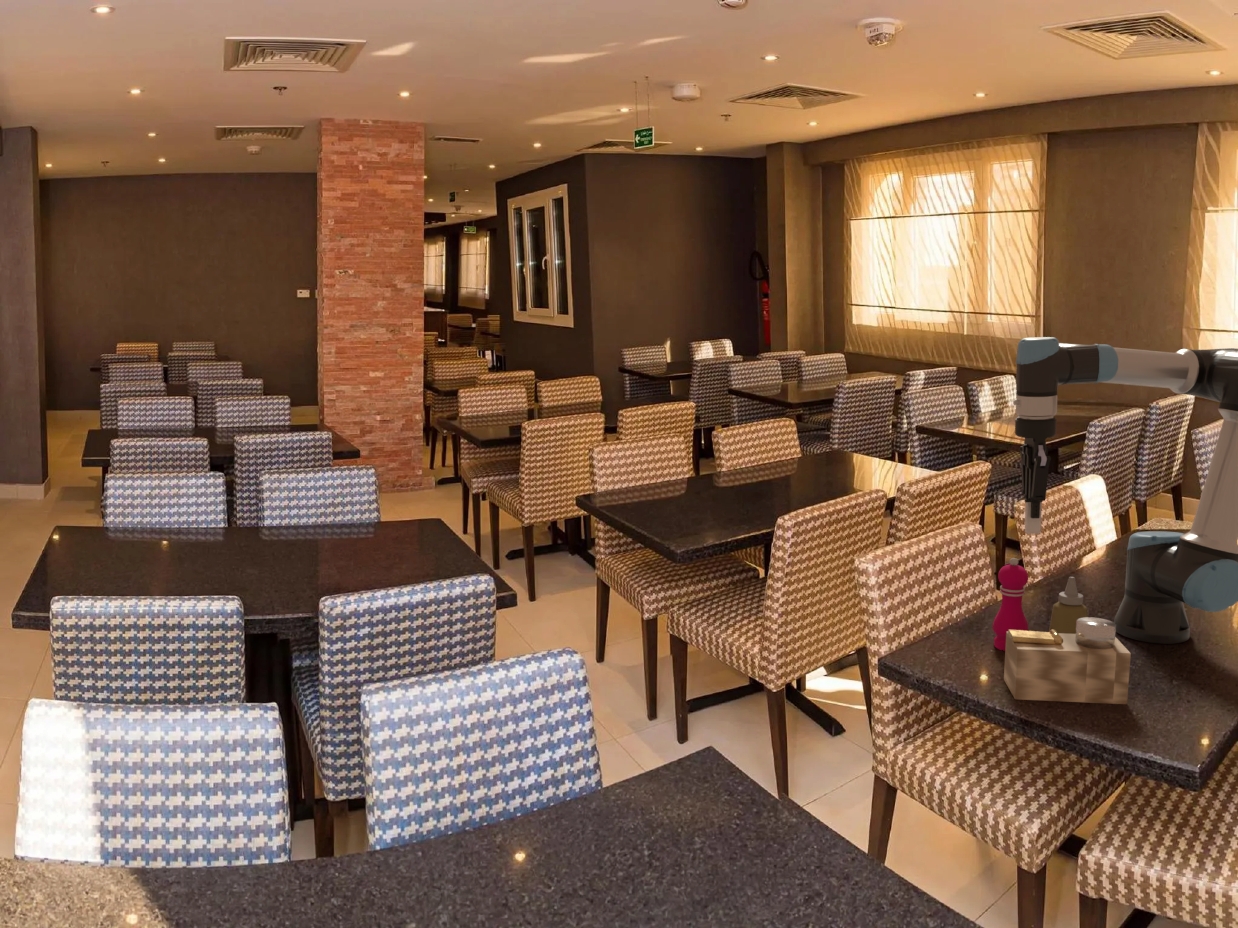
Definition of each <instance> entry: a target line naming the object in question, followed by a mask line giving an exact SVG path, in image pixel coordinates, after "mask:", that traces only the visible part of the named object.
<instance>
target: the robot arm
mask: <svg viewBox="0 0 1238 928" xmlns="http://www.w3.org/2000/svg"><path fill="white" fill-rule="evenodd" d="M1016 351H1017V352H1016V358H1015V364H1016V373H1015V375H1016V379H1015V381H1016V384H1015V385H1016V387H1015V390H1016V392H1015V397H1016V399H1014V400H1013V401H1012V404H1013V405H1014V406H1015V415H1017V417H1016V418H1015V420H1014V422H1015V423H1014V424H1015V425H1014V434H1015V436H1017V438H1018V437H1019V438H1024V440H1023V441H1024V442H1023V444H1022V445H1021V446H1020V447H1019V452H1020V464H1021V465H1020V466H1021V467H1020V468H1021V486H1022V487H1021V490H1022V491H1021V494H1022V495H1023V496H1024V503H1025V505H1024V506H1025V508H1024V509H1025V511H1024V533H1025V534H1027V535H1028V534H1029V535H1031V534H1033V535H1034V534H1035V535H1036V534H1041V533H1042V531H1041V530H1042V505H1043V504H1042V503H1043V502H1045V501H1046V499H1047V497H1046V496H1047V490H1048V489H1047V487H1048V479H1049V469H1050V465H1051V460H1052V458H1051V455H1049V447H1048V446H1047V443H1046V442H1047V441H1046V440H1047V439H1049V438H1053V437H1055V436H1056V435H1057V419H1056V417H1054V416H1056V415H1057V414H1058V387H1059V386H1062V385H1063V386H1064V385H1076V384H1078V385H1079V384H1095V385H1096V384H1098V383H1104V384H1116V385H1119V384H1120V385H1128V386H1141V387H1151V388H1152V387H1153V388H1164V389H1169V390H1170V391H1171V392H1173V393H1175V394H1179V395H1189V396H1193V397H1198V398H1203V399H1205V400H1210V401H1214V402H1216V403H1217V402H1218V403H1219V406H1218V408H1217V411H1218V412H1219V414H1220V415H1221V417H1222V418H1223V419H1222V420H1223V421H1222V425H1221V428H1220V432H1219V435H1218V439H1217V441H1216V444H1215V449H1214V451H1213V455H1212V458H1211V462H1210V465H1209V468H1208V471H1207V475H1206V477H1205V482H1204V485H1203V488H1202V492H1201V494H1200V495H1201V496H1200V499H1199V501H1198V505H1197V509H1196V512H1195V515H1194V519H1193V522H1192V525H1191V527H1190V530H1189V531H1187V532H1185V533H1183V532H1177V531H1166V530H1164V531H1163V530H1162V531H1161V530H1160V531H1159V530H1156V531H1152V530H1150V531H1149V530H1148V531H1137V532H1135V533H1133V534H1131V535H1130V536H1129V539H1128V544H1127V549H1126V551H1127V552H1126V553H1127V555H1126V568H1125V569H1126V570H1125V584H1124V585H1125V586H1124V597H1123V599H1122V601H1121V604H1120V605H1119V607H1118V610H1117V612H1116V614H1115V616H1114V620H1113V622H1114V623H1115V624H1116V631H1115V633H1118V634H1119V635H1121V636H1123V637H1125V638H1128V639H1130V640H1135V641H1140V642H1145V643H1151V644H1163V645H1164V644H1167V645H1168V644H1169V645H1171V644H1181V643H1184V642H1186V641H1189V639H1190V635H1191V626H1190V624H1189V619H1188V615H1187V612H1186V608H1185V604H1186V605H1187V606H1189V607H1190V608H1193V609H1198V610H1201V611H1204V612H1209V613H1219V612H1222V611H1225V610H1227V609H1229V607H1232V606H1234V605H1236V604H1237V603H1238V348H1213V349H1210V348H1209V349H1192V348H1191V349H1188V348H1182V349H1179V350H1177V351H1175V352H1170V351H1169V352H1168V351H1159V350H1158V351H1156V350H1147V349H1136V348H1135V349H1134V348H1124V347H1122V348H1121V347H1113V345H1110V344H1106V343H1105V344H1104V343H1103V344H1102V343H1101V344H1100V343H1099V344H1098V343H1094V344H1080V343H1079V344H1078V343H1067V342H1066V343H1065V342H1060V340H1059V339H1058V338H1056V337H1053V336H1051V337H1050V336H1047V337H1046V336H1039V337H1037V336H1036V337H1035V336H1033V337H1023V338H1022V339H1020V340H1019V341H1018V343H1017V349H1016Z"/></svg>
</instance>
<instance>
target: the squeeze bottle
mask: <svg viewBox="0 0 1238 928" xmlns="http://www.w3.org/2000/svg"><path fill="white" fill-rule="evenodd" d="M1083 603H1084V595H1083V594H1082V593H1079V592H1078V586H1077V580H1076V577H1074V576H1069V577H1068V579H1067V583H1066V586H1065V589H1064V591H1061V592H1059V593H1058V601H1057V602H1055V603H1054V604H1053V605H1052V610H1051V611H1052V612H1051V617H1050V622H1049V623H1050V624H1049V628H1048V632H1049V631H1050V630H1052V629H1054V630H1056V631H1057V632H1058V633H1065V634H1076V622H1077V619H1079V618H1084V617H1089V615H1088V614H1089V612H1088V607H1087V606H1086V605H1085V604H1083Z"/></svg>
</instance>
